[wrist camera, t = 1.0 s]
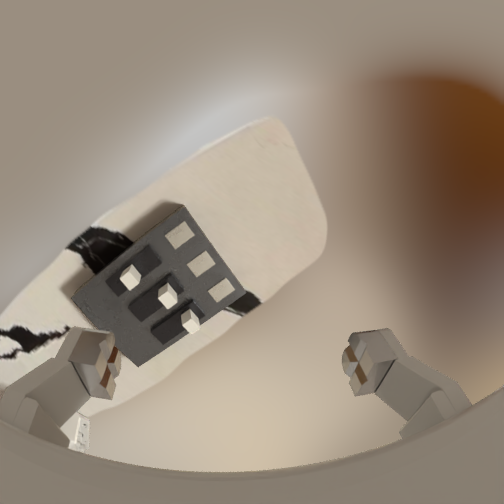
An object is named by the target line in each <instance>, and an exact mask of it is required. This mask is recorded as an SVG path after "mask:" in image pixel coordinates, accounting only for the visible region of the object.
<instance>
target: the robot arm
mask: <svg viewBox="0 0 504 504" xmlns="http://www.w3.org/2000/svg"><path fill="white" fill-rule="evenodd" d="M115 341H116V340H115V337H114V334H113V333H112V332H109V331H102V330H95V329H89V328H81V327H76V326H74V327H72V328H71V329H70V331H69V333H68V335H67V336H66V338H65V340H64V342H63V344H62V346H61V348H60V349H59V351H58V353H57V355H56V357H55V358H50V359H49V360H47V361H46V362H44V363H43V364H41V365H40V366H38V367H37V368H35V369H34V370H32V371H31V372H29V373H28V374H26V375H25V376H23V377H22V378H20V379H19V380H17V381H16V382H14V383H13V384H11V385H10V386H8V387H7V388H6V390H5V392H4V394H3V396H2V398H1V400H0V504H504V385H503V386H502V387H500V388H499V389H497V390H496V391H494V392H493V393H491V394H490V395H488V396H487V397H485V398H484V399H482V400H480V401H479V402H477V403H475V404H474V405H472V404H471V402H470V401H469V399H468V398H467V396H466V394H465V393H464V391H463V390H462V388H461V387H460V385H459V384H458V382H456V381H455V380H453V379H451V378H449V377H448V376H446V375H444V374H442V373H441V372H439V371H437V370H435V369H433V368H432V367H430V366H428V365H427V364H425V363H423V362H421V361H420V360H418V359H416V358H414V357H413V356H411V357H409V356H408V355H407V353H406V351H405V350H404V348H403V347H402V345H401V344H400V342H399V341H398V339H397V338H396V337H395V335H394V334H393V332H392V331H391V330H390V329H388V328H385V329H378V330H371V331H363V332H355V333H352V334H351V335H350V337H349V340H348V342H349V344H350V345H349V346H348V347H347V348H346V349H345V350H344V352H343V355H342V366H343V370H344V372H345V374H346V375H348V376H349V377H351V378H350V381H349V384H350V386H351V388H352V390H353V393H354V395H355V396H360V395H365V394H371V393H375V395H377V396H378V397H379V398H381V400H383V401H384V402H385V403H386V404H387V405H389V406H390V407H391V408H392V409H393V410H395V411H396V412H397V413H398V414H399V415H401V416H402V417H403V418H404V419H405V420H407V421H408V422H407V423H406V424H405V425H404V426H403V427H402V428H401V430H400V435H401V437H402V439H400V440H398V441H395V442H392V443H389V444H387V445H384V446H381V447H378V448H375V449H371V450H368V451H365V452H361V453H358V454H354V455H350V456H346V457H342V458H338V459H334V460H329V461H324V462H320V463H314V464H309V465H303V466H297V467H289V468H282V469H272V470H263V471H246V472H194V471H179V470H168V469H159V468H151V467H144V466H138V465H132V464H127V463H122V462H117V461H112V460H108V459H104V458H100V457H96V456H92V455H89V454H85V453H82V452H85V450H89V446H90V443H89V442H90V441H89V439H90V435H89V434H90V420H89V419H88V418H86V417H85V416H83V415H81V414H79V413H78V412H77V411H78V410H79V409H80V408H81V407H82V406H83V405H84V404H85V403H86V402H87V401H88V400H89V399H90V396H91V397H97V398H103V399H109V400H112V398H113V394H114V391H115V387H116V384H115V381H114V379H115V378H116V377H117V376H118V375H119V373H120V369H121V355H120V352H119V349H118V348H117V347H115V346H114V344H115ZM80 451H81V452H80Z"/></svg>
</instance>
